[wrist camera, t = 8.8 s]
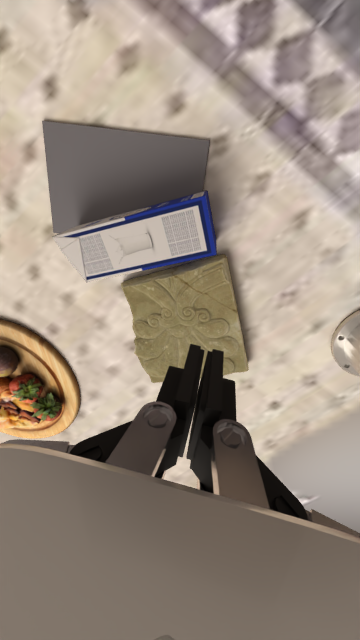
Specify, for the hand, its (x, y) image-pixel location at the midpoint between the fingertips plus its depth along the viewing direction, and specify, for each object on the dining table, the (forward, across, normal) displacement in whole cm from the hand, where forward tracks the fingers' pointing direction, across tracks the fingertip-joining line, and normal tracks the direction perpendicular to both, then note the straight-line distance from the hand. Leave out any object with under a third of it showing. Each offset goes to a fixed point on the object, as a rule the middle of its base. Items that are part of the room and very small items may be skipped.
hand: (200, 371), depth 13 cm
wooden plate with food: (+28, +39, +35) cm, 59 cm away
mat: (+28, +15, -7) cm, 32 cm away
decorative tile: (+29, +4, +12) cm, 31 cm away
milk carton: (+24, +2, -5) cm, 25 cm away
